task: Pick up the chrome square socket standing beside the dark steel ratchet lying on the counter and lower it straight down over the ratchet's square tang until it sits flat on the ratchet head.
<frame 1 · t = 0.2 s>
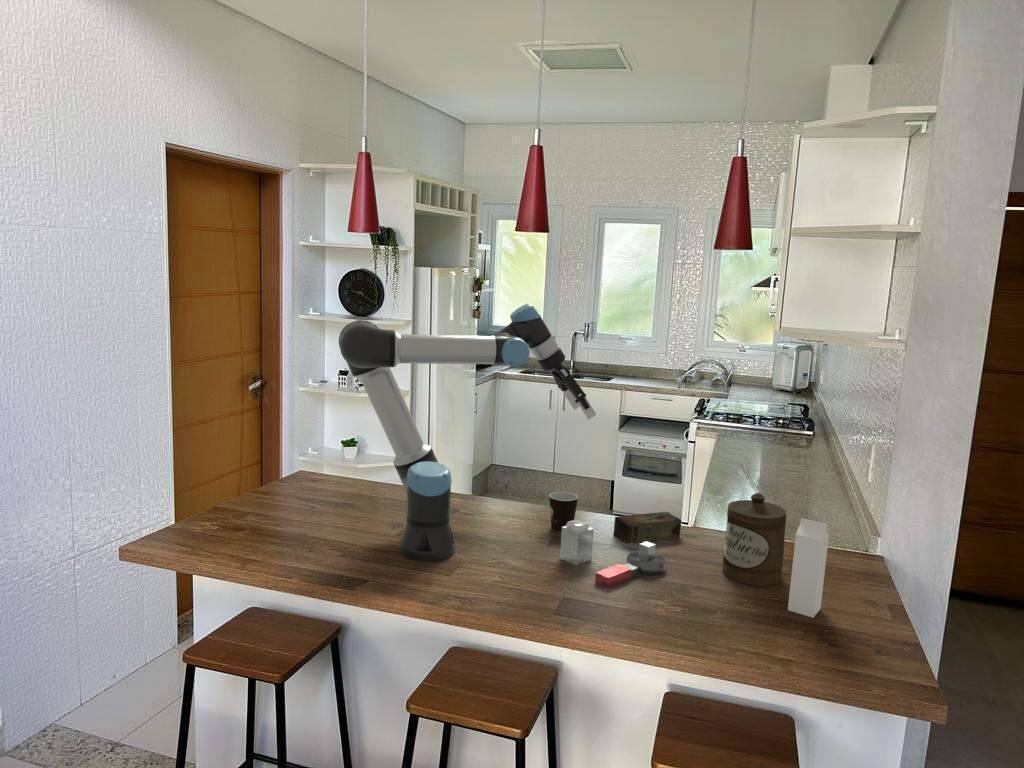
hand: (584, 412, 225), 35 cm above the countertop, tool tilted 35°, fingers open, 13 cm apart
milk: (804, 610, 180), on the countertop
beverage carton: (646, 538, 224), on the countertop
coffee mug: (562, 527, 230), on the countertop
ratchet: (645, 567, 201), on the countertop
wooden container: (751, 575, 200), on the countertop
socket: (575, 559, 205), on the countertop
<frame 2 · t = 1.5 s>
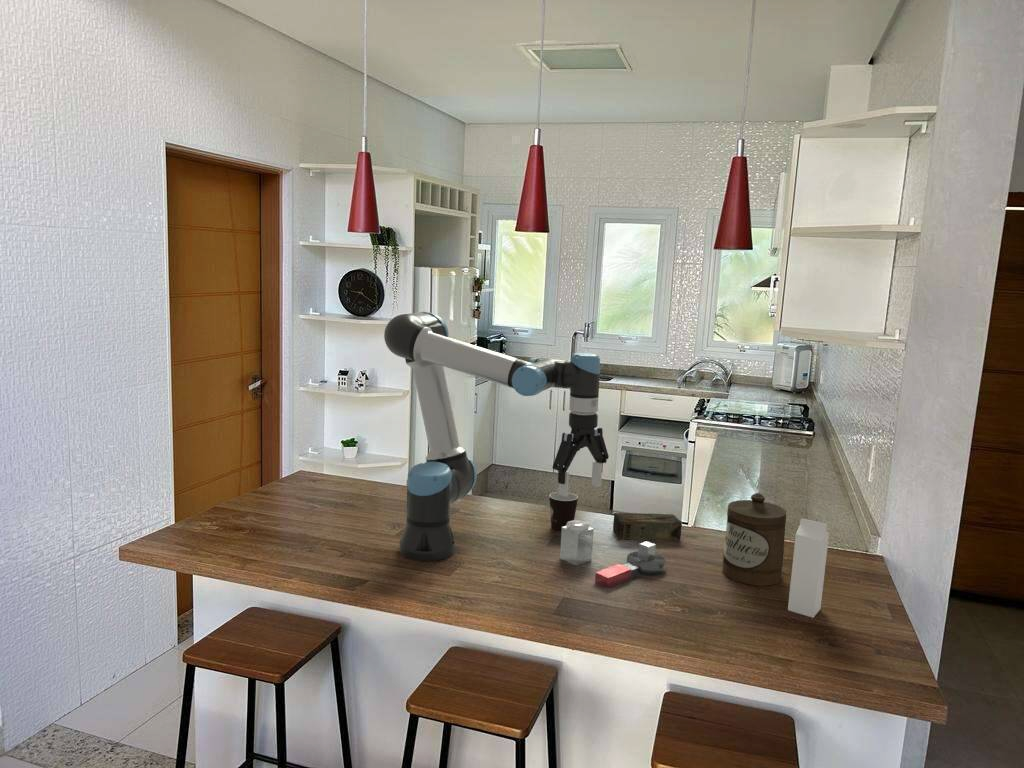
hand: (580, 490, 203), 19 cm above the countertop, tool pointing down, fingers open, 13 cm apart
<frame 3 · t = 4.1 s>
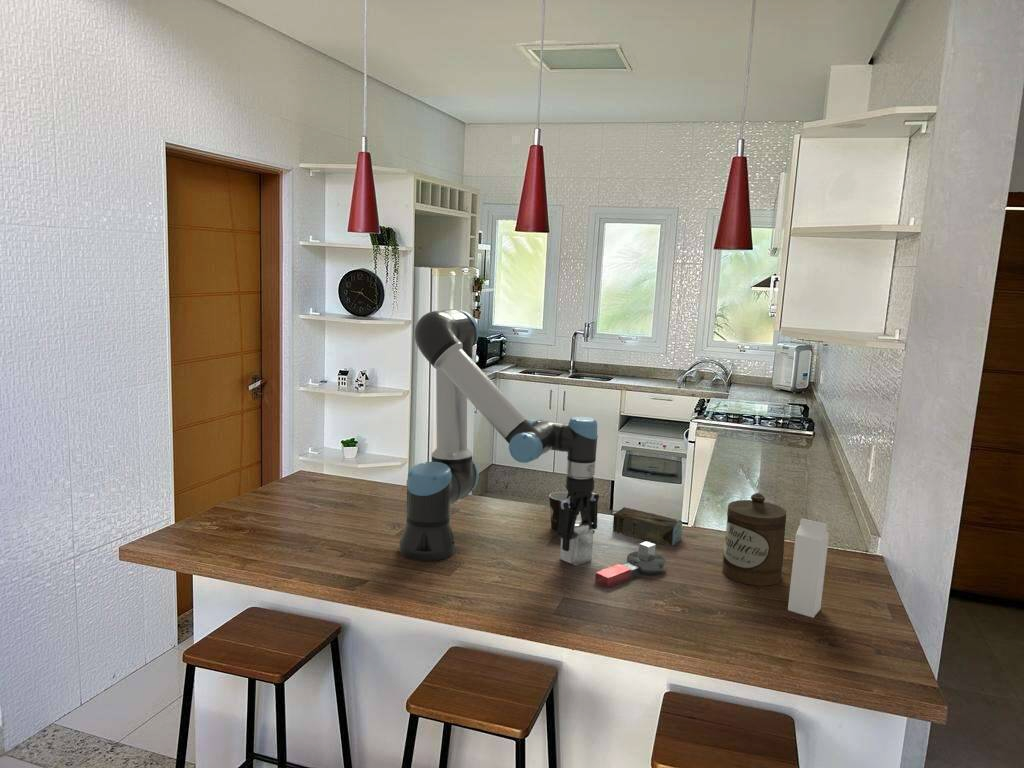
hand: (575, 558, 205), 0 cm above the countertop, tool pointing down, fingers closed on socket, 6 cm apart
socket: (575, 559, 205), on the countertop, touching gripper
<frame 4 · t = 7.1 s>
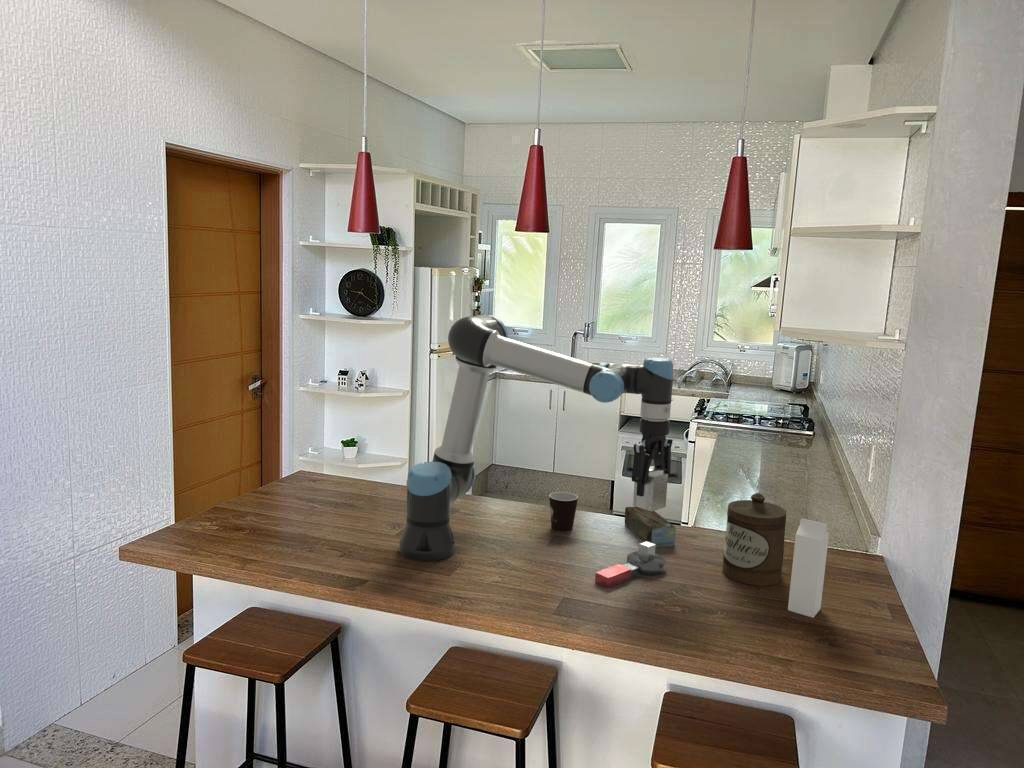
hand: (649, 504, 199), 17 cm above the countertop, tool pointing down, fingers closed on socket, 6 cm apart
socket: (649, 506, 199), point 17 cm above the countertop, touching gripper
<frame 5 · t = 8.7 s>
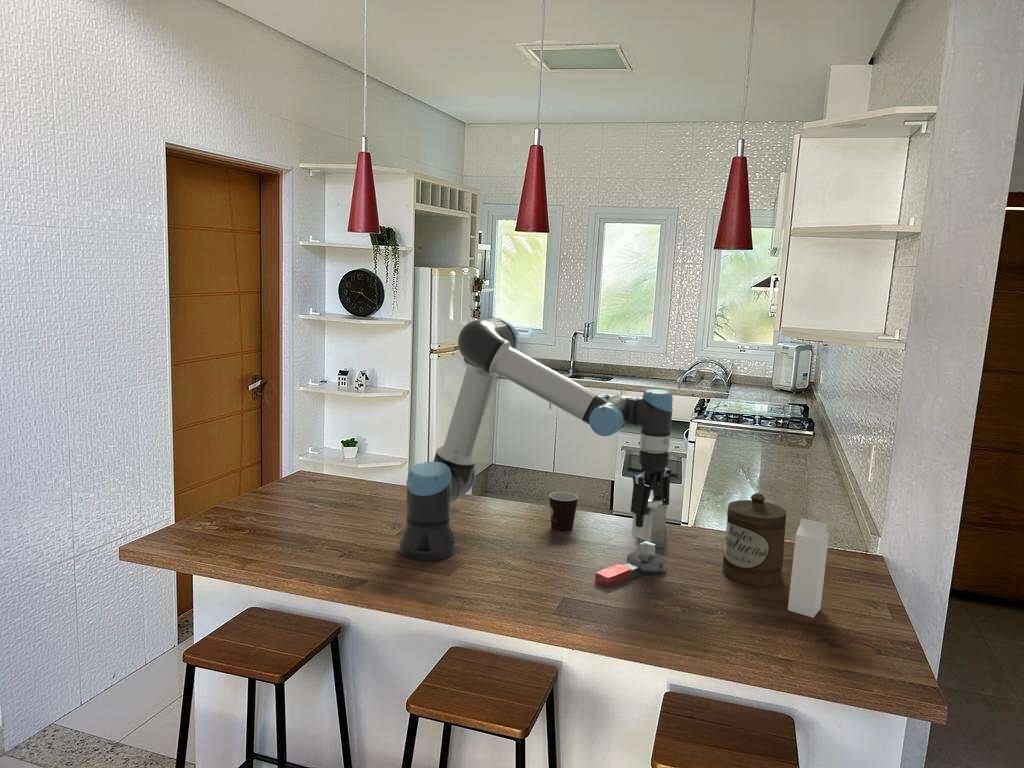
hand: (648, 535, 200), 9 cm above the countertop, tool pointing down, fingers closed on socket, 6 cm apart
socket: (648, 536, 200), point 9 cm above the countertop, touching gripper
when the fingers open (4 cm above the countertop, at t = 10.1 s): socket stays where it is, resting on ratchet.
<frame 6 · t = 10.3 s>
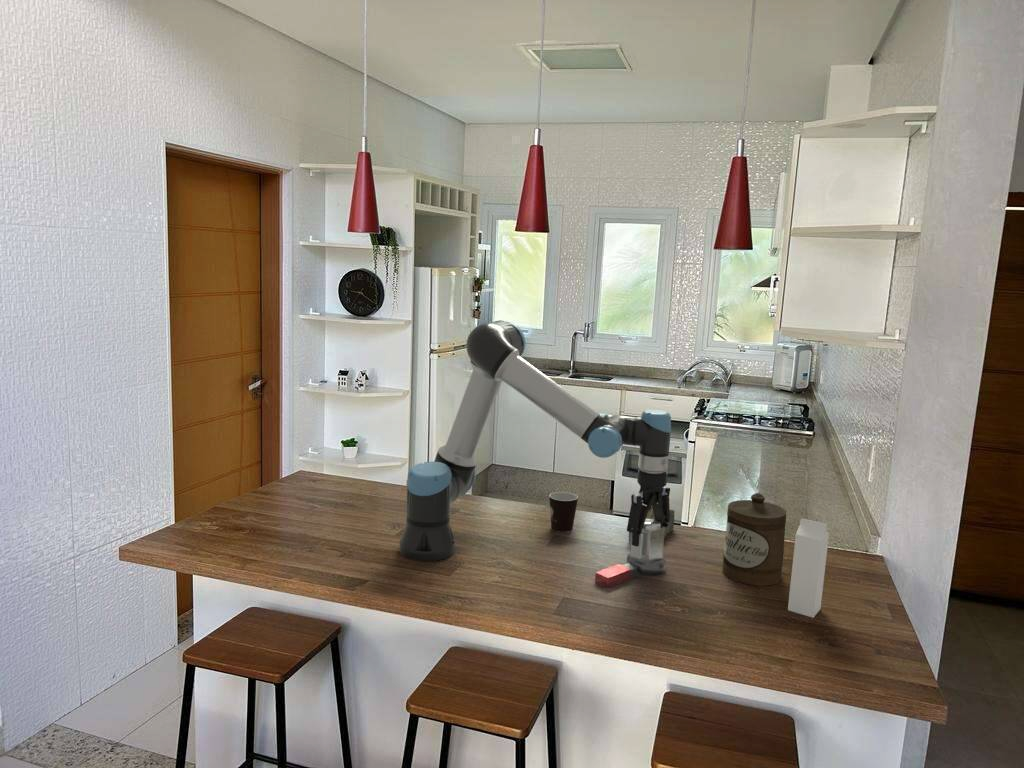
hand: (646, 552, 201), 4 cm above the countertop, tool pointing down, fingers open, 8 cm apart
socket: (646, 558, 201), point 2 cm above the countertop, touching ratchet
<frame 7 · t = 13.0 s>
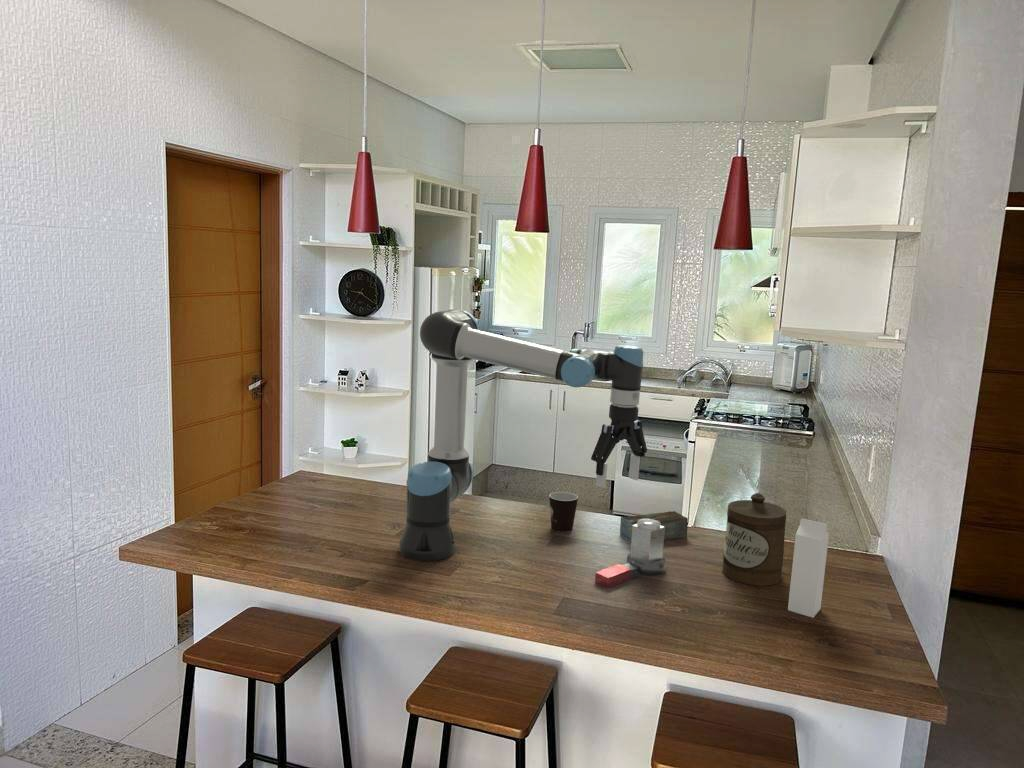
hand: (617, 482, 202), 22 cm above the countertop, tool pointing down, fingers open, 13 cm apart
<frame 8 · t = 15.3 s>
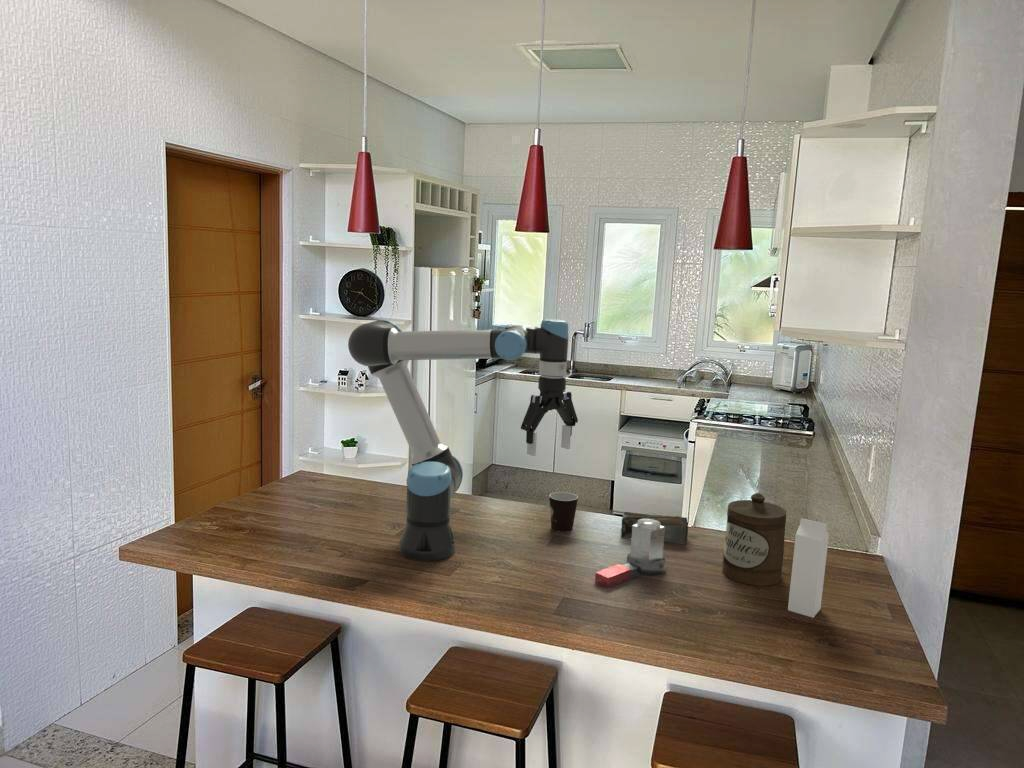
hand: (548, 451, 212), 27 cm above the countertop, tool pointing down, fingers open, 13 cm apart
at the end: socket 0.0 cm off-centre on the ratchet, point 2.5 cm above the ratchet's base; socket tilted 0°; the gripper is holding nothing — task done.
